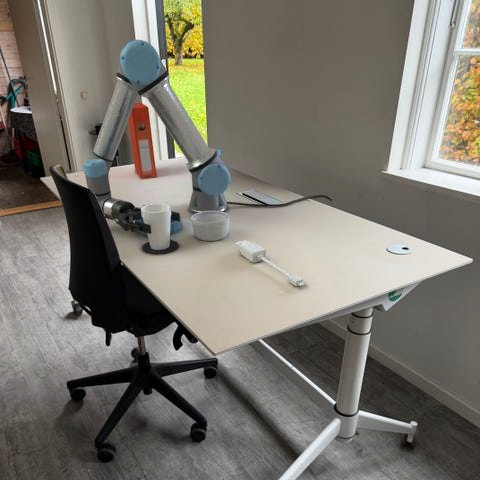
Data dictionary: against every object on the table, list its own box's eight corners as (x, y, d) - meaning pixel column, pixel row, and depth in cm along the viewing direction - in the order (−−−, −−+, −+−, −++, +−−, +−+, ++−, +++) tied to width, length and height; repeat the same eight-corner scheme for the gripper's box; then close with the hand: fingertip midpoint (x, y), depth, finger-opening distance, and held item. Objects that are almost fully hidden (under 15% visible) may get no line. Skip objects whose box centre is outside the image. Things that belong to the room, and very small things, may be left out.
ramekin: (212, 226, 172) (212, 207, 169) (237, 235, 164) (237, 216, 161) (184, 236, 164) (183, 216, 161) (209, 246, 156) (208, 226, 153)
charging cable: (295, 292, 129) (296, 282, 127) (233, 250, 152) (233, 240, 150) (309, 288, 131) (310, 277, 130) (246, 246, 154) (247, 237, 152)
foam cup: (150, 253, 151) (145, 214, 144) (142, 244, 158) (136, 206, 151) (178, 247, 155) (174, 209, 148) (168, 238, 162) (164, 201, 155)
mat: (179, 239, 162) (179, 238, 162) (177, 253, 152) (177, 252, 151) (144, 241, 161) (144, 239, 161) (140, 255, 151) (140, 254, 151)
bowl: (182, 220, 178) (181, 210, 176) (180, 236, 165) (179, 225, 163) (139, 221, 178) (138, 212, 176) (133, 237, 164) (132, 227, 162)
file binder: (140, 179, 230) (131, 108, 213) (134, 170, 244) (125, 103, 227) (156, 177, 232) (149, 106, 215) (150, 169, 246) (142, 102, 229)
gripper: (148, 211, 171) (191, 223, 160) (93, 232, 155) (138, 246, 144) (145, 191, 167) (190, 201, 156) (89, 210, 151) (134, 223, 140)
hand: (165, 223), depth 150 cm, fingers open, 12 cm apart
